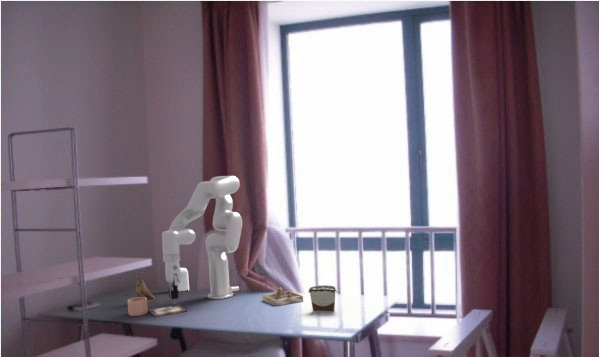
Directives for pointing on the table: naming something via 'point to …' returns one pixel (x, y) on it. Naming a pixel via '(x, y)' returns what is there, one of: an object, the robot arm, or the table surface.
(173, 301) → the marker
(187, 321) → the table surface
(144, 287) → the brown carved statuette
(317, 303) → the food container
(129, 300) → the pen cup
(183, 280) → the photo printer
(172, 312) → the picture frame
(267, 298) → the artifact tray
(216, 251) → the robot arm
